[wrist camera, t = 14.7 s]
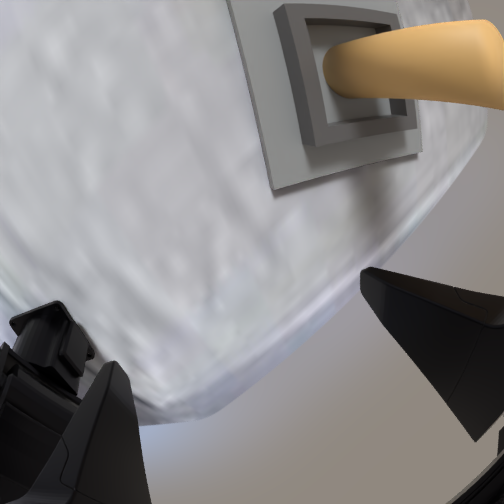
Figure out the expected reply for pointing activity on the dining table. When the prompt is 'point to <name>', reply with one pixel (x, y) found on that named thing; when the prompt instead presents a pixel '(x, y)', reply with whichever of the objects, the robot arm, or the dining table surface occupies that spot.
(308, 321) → the dining table surface
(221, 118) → the dining table surface
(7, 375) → the robot arm
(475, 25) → the rounded tan peg
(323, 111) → the socket
